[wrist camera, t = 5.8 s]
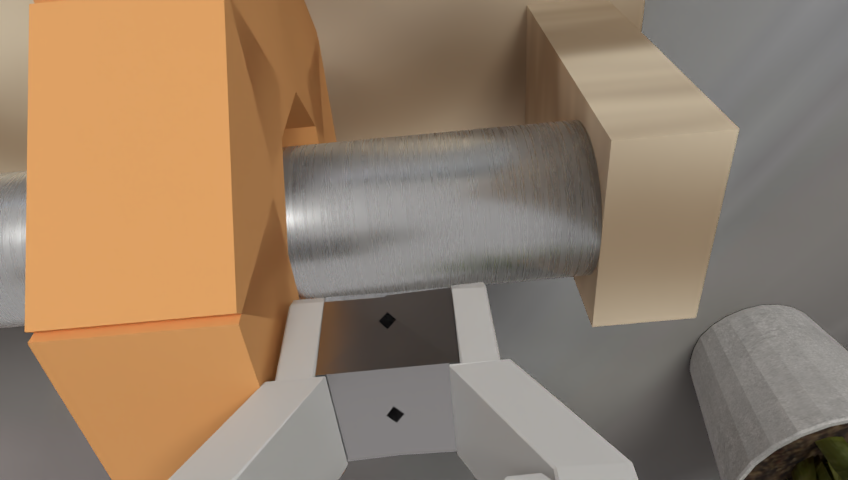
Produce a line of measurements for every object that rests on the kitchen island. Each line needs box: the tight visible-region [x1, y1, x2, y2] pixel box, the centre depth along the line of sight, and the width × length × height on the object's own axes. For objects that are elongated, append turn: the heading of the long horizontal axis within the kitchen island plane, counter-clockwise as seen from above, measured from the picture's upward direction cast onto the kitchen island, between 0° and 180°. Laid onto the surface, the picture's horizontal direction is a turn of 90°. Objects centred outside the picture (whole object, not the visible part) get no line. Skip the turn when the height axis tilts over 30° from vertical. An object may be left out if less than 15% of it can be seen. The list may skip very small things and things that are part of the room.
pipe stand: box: [0, 0, 739, 327], centre depth 15 cm, size 12×28×10 cm, turn 95°
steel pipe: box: [0, 120, 602, 328], centre depth 12 cm, size 3×26×3 cm, turn 94°
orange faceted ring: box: [25, 0, 346, 480], centre depth 12 cm, size 10×2×10 cm, turn 5°
